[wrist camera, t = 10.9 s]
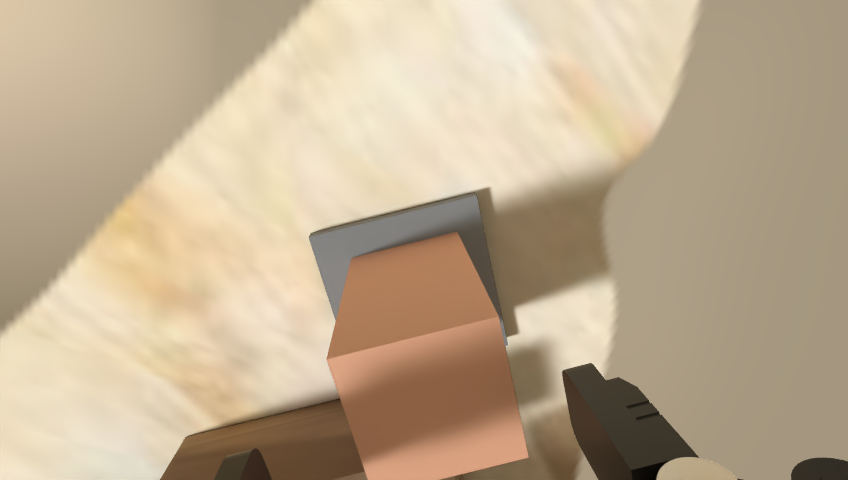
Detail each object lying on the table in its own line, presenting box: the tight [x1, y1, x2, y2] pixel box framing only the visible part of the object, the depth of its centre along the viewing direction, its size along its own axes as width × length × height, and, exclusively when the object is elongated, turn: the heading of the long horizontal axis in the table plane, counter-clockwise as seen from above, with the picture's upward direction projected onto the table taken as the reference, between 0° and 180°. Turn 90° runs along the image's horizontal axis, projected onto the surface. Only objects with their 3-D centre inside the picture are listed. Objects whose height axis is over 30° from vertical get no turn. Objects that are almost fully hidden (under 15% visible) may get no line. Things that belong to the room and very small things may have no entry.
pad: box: [309, 193, 508, 346], centre depth 21 cm, size 7×7×1 cm
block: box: [327, 232, 529, 480], centre depth 17 cm, size 4×4×8 cm
